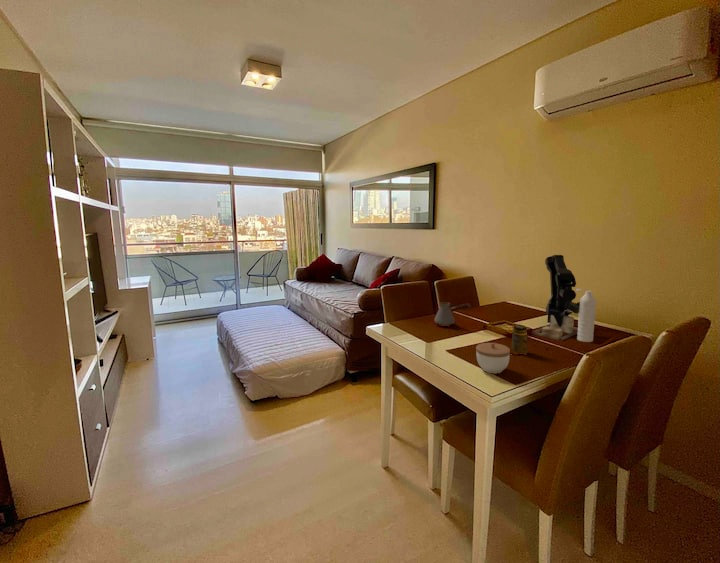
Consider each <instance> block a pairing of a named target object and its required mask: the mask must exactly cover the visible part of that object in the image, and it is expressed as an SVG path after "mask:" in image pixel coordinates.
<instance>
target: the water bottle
mask: <svg viewBox="0 0 720 563" xmlns="http://www.w3.org/2000/svg"><path fill="white" fill-rule="evenodd" d="M575 292H579V293H580V292H583V289H581V288H576V289H575ZM592 293H593V292H592V290H585V293H584V294H583V296H581V297H580V299H579V302H580V305H579V306H580V307H579V313H578V316H577V317H578V318H577V319H578V321H577V328H578V332H577V334H576V335H577V336H576V340H577V341H579V342H582V343H583V342H584V343H591V342H594V332H595V331H594V330H595V321H596V309H597V308H596V307H597V306H596V305H597V299H596V298H595V297H594V295H593V294H592Z"/></svg>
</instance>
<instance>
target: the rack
mask: <svg viewBox="0 0 720 563" xmlns="http://www.w3.org/2000/svg"><path fill="white" fill-rule="evenodd" d="M546 326H547V327H550V324H548V325H546ZM542 328H543V327H541V328H537V329H535V330H533V331H531V335H535V336H540V337H545V338H549V339H552V340H555V341H560V342H562V341H564V340H567V339H569V338H571V337H573V336H575V335H577V332H578V327H576V326H573V332H572V333H566V334H565V335H562V336H561V337H555V336H551V335H547V334H542Z"/></svg>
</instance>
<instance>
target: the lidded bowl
mask: <svg viewBox="0 0 720 563" xmlns="http://www.w3.org/2000/svg"><path fill="white" fill-rule="evenodd" d="M510 349H511V348H509V347H508V346H507V345H504V344H500V343H497V342H482V343H478V344H477V345H476V347H475V350H476V352H475V353H476V354H475V355H476V361H477V363H478V365H479V367H481V369H482V370H483V371H484V372H485V371H486V372H485V373H487V374H492V373H493V374H494V375H495V374H497V373H498V374H501V373H502V372H503V371H504V370H505V369H507V367H508V365H509V364H510V363H509V362H510V357H511V356H510V355H511V354H510ZM493 374H492V375H493Z"/></svg>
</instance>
